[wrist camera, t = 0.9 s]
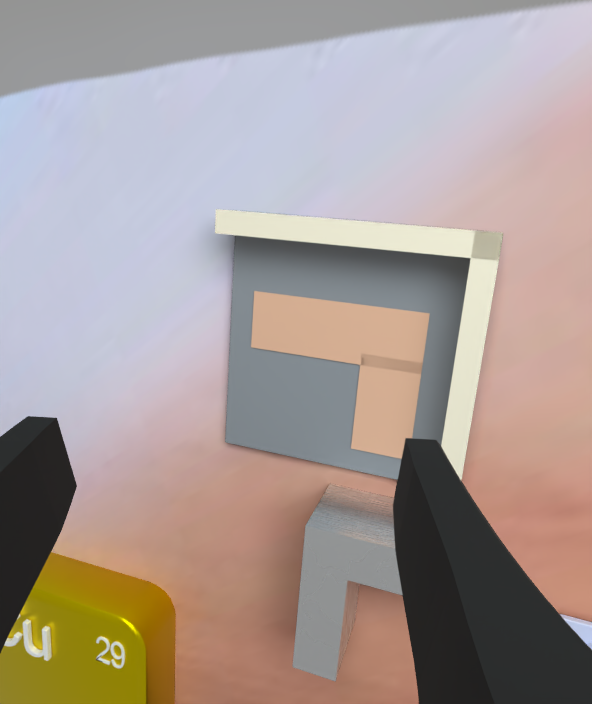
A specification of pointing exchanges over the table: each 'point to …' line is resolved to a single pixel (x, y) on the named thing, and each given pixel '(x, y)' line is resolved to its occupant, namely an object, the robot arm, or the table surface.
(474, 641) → the robot arm
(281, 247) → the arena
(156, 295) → the table surface
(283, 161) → the table surface
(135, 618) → the element tile
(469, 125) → the table surface
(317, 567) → the bracket
